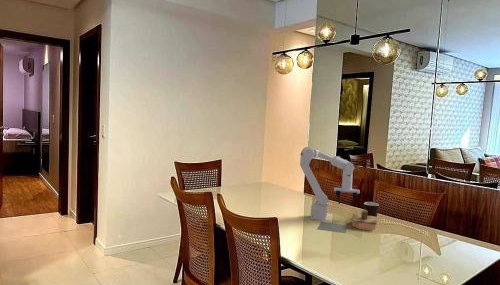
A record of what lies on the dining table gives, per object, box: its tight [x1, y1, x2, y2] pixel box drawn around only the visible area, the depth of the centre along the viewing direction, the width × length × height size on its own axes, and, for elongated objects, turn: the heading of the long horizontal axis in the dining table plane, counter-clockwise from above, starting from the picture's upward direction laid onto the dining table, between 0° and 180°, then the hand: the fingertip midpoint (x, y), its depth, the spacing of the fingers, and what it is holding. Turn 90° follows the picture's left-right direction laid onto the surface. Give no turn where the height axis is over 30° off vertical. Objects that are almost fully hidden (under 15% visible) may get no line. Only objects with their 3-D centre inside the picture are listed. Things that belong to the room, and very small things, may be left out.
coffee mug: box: [363, 201, 380, 218], centre depth 215 cm, size 12×9×10 cm
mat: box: [316, 221, 349, 234], centre depth 197 cm, size 15×15×1 cm
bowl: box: [352, 222, 376, 231], centre depth 201 cm, size 12×12×4 cm
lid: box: [351, 209, 378, 226], centre depth 200 cm, size 13×13×5 cm
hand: (346, 204), depth 213 cm, fingers open, 7 cm apart
